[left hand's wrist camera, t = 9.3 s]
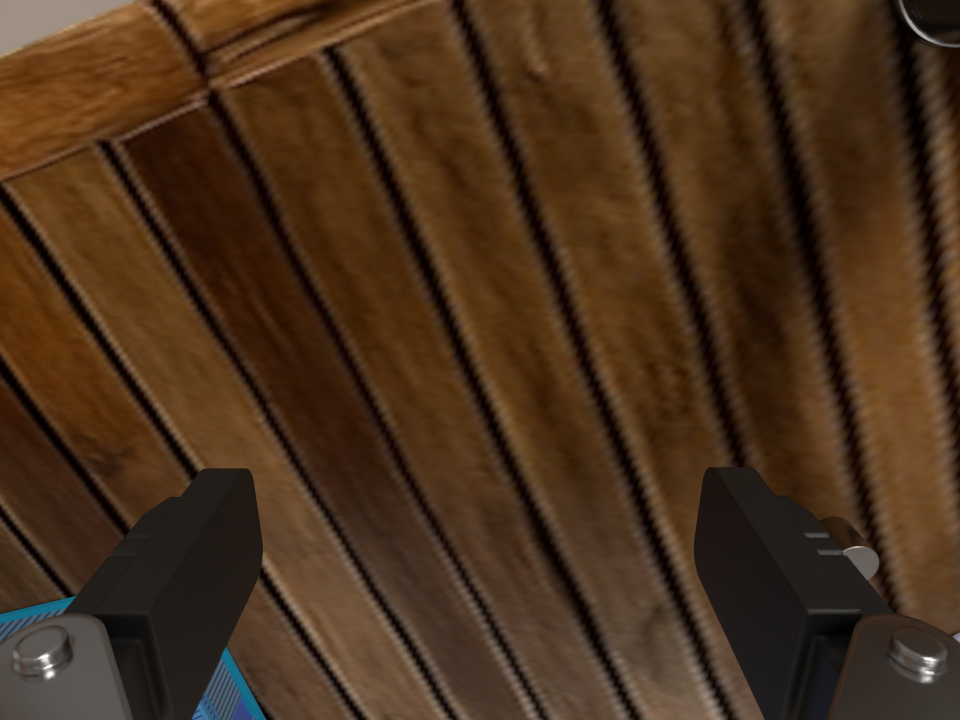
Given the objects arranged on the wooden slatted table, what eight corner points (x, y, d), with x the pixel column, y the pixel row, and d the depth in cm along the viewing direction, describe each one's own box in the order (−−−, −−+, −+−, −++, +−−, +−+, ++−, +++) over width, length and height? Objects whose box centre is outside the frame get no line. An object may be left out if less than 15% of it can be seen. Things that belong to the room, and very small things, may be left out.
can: (843, 509, 55) (870, 539, 51) (859, 542, 56) (886, 573, 52) (800, 529, 56) (823, 560, 52) (816, 561, 57) (839, 593, 53)
